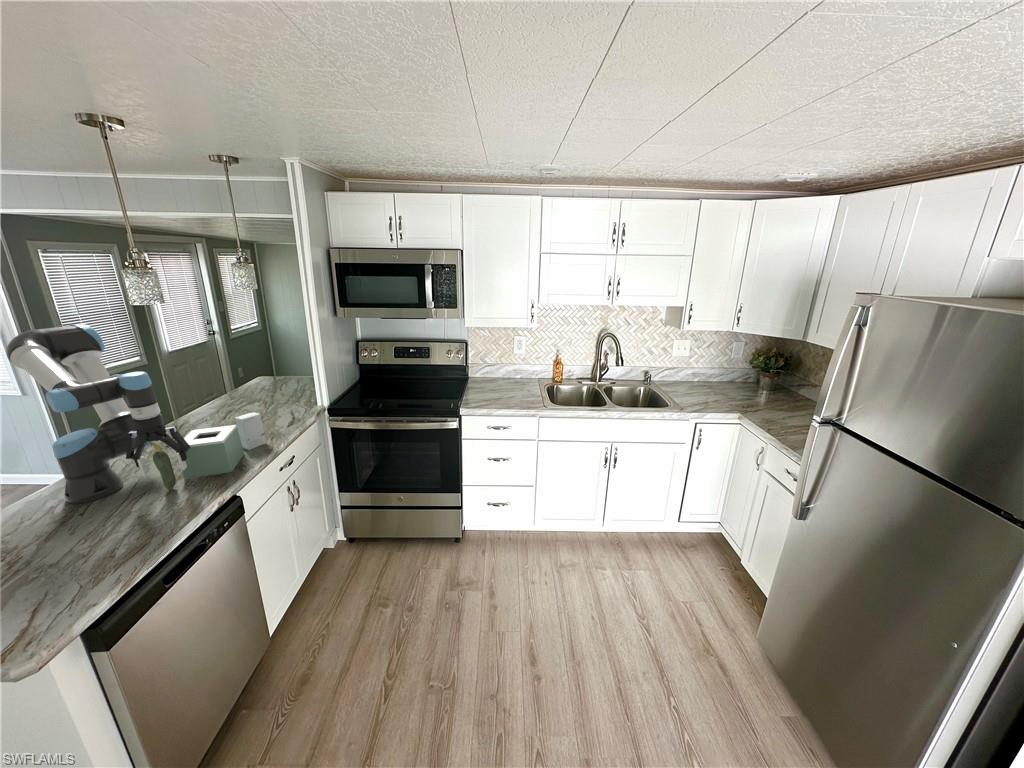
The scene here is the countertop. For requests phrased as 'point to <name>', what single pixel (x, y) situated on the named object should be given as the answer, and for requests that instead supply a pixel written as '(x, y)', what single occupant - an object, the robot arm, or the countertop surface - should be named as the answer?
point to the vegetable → (164, 466)
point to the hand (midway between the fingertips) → (165, 471)
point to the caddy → (212, 451)
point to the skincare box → (250, 430)
